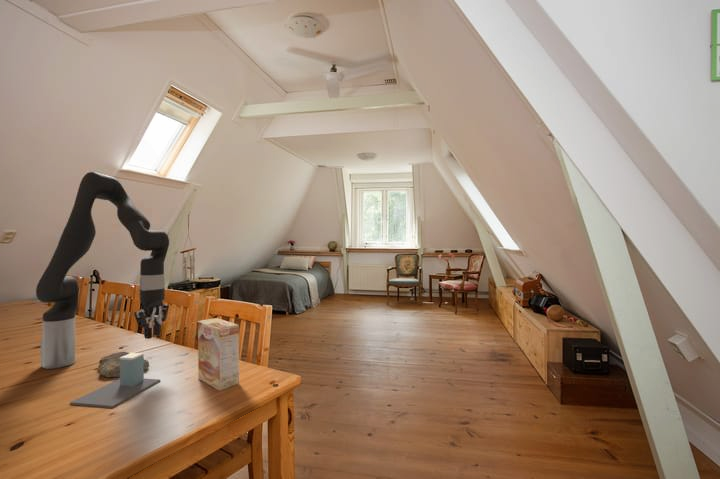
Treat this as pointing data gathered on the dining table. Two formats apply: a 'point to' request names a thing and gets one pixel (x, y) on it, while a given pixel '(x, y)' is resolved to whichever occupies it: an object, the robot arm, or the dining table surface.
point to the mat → (113, 394)
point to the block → (131, 369)
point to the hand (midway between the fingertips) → (152, 336)
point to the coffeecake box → (218, 353)
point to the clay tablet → (114, 364)
